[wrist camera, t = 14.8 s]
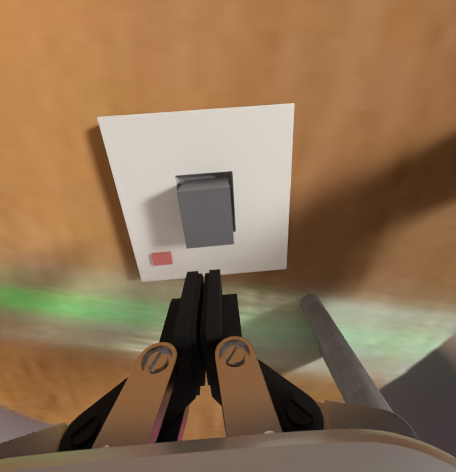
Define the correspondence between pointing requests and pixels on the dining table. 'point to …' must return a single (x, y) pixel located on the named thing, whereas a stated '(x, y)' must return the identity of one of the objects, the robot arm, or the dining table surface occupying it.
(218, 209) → the plug
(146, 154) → the socket
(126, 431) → the robot arm
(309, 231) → the dining table surface
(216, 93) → the dining table surface
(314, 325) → the hip flask
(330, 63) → the dining table surface
